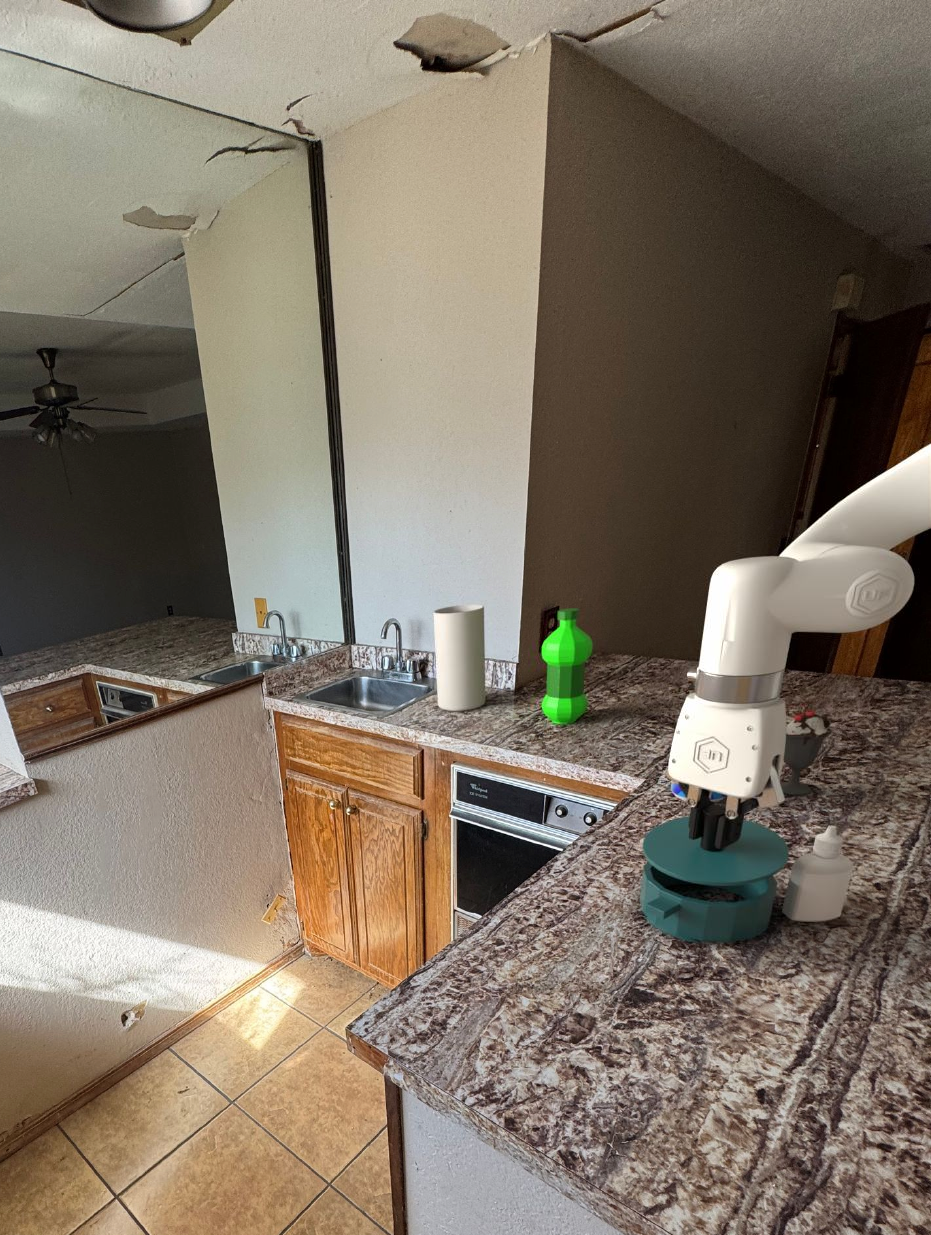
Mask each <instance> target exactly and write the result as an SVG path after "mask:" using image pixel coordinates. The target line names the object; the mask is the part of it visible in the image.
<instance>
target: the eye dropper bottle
mask: <svg viewBox="0 0 931 1235" xmlns="http://www.w3.org/2000/svg"><path fill="white" fill-rule="evenodd" d="M814 838H815V839H814V843H813V847H812V851H811V852H808V853H806V854H804V855H802V856H800V857H798V858H797V859H795V860H794V862H793V863H792V866H791V870H790V873H789V878H788V882H787V886H786V892H785V896H784V900H783V903H782V904H783V905H782V909H781V912H782V913H783V914H784V915H785V917H787V918H788V919H790V920H792V921H797V922H808V923H809V922H810V923H812V922H813V923H814V922H826V921H831V920H834V919H838V918H839V917H841V915H842V912H843V908H844V904H845V901H846V897H847V893H848V889H849V885H850V883H851V878H852V874H853V869H854V863H853V862H852V860H851V859H849V858H848V857H847V856H845V855H843V854H841V851H842V848H843V843H844V839H843V838H842V837H841V836H840V835H838V834H837V826H835V825H828V826H827V828H826V830H825V831H824V832H822V833H817V834H816V835H815V837H814Z"/></svg>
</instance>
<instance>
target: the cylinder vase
mask: <svg viewBox="0 0 931 1235" xmlns="http://www.w3.org/2000/svg"><path fill="white" fill-rule="evenodd" d="M433 631H434V652H435V653H434V654H435V655H434V656H435V675H436V695H437V706H438V708H440V709H441V710H443V711H448V712H465V711H471V710H476V709H478V708H480V707H482V706H484V705H485V703H486V649H485V648H486V647H485V605H483V604H475V603H473V604H472V603H471V604H460V605H459V604H457V605H452V606H446V607H441V608H437V609H435V610H433Z"/></svg>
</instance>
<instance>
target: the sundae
mask: <svg viewBox="0 0 931 1235" xmlns="http://www.w3.org/2000/svg"><path fill="white" fill-rule="evenodd" d="M805 703H806V702H805V701H803V702H801V703H799V705H800V706H801V707H800V709H799V712H798V714H797V715H795V716H794V720H792V721H790V722H789V723H788V724H786V743H785V752H784V759H783V763H784V764H785V765H786V767H788V768H789V769H790V770H791V775H790V777H789V780H788V781H786V782H780V785H781V788H782V791H783V795H784V794H785V795H789V796H790V795H791V796H804V795H808V794H810V793H811V792H812V788H811V787H810V786H808V785H806V784H804V783H801V782H800V776H801V772H802V771H804V770H805V769H808V768H809V767H811V766H812V765H813V764H814V763H815V761H816V759H817V757H818V755H819V752H820V750H821V747H822V745H823V743H824V740H825V739H826V738H828V737H829V736H831V734H832V732H833V730H832V729H829V728H830V726H831V724H832V721H831V720H830V718H829V717H828V716H827V714H826V713H824V714H822V715H820V714H817V713H815V711H814V710H809V708H808V707H806V704H805ZM803 706H804V708H805V709H806V712H804V713H802V710H803ZM801 713H802V714H801Z"/></svg>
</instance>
